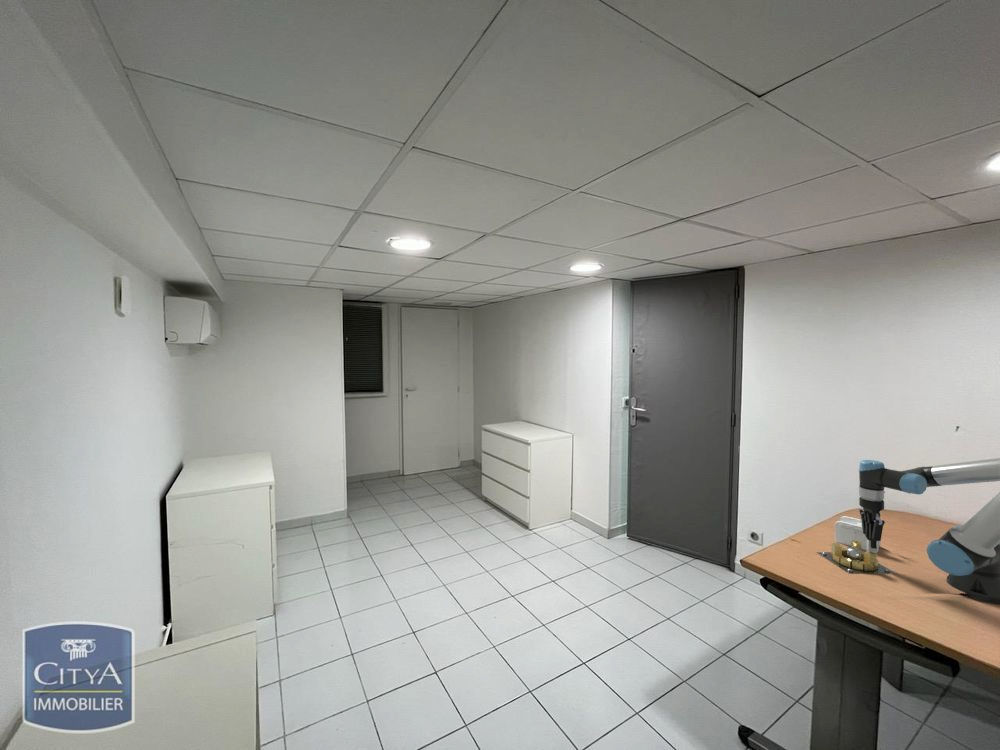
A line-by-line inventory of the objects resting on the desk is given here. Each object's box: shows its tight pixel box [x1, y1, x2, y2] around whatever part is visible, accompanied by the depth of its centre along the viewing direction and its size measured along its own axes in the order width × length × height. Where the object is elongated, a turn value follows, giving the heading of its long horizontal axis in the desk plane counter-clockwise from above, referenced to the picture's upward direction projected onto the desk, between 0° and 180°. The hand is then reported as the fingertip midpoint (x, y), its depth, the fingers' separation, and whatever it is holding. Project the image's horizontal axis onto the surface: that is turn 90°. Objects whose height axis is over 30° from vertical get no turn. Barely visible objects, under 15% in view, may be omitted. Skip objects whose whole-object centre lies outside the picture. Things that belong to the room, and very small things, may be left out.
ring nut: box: [830, 540, 879, 571], centre depth 167 cm, size 14×14×7 cm
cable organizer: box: [834, 515, 882, 553], centre depth 183 cm, size 15×11×12 cm
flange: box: [816, 546, 897, 575], centre depth 167 cm, size 18×18×7 cm
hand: (871, 554), depth 165 cm, fingers closed
